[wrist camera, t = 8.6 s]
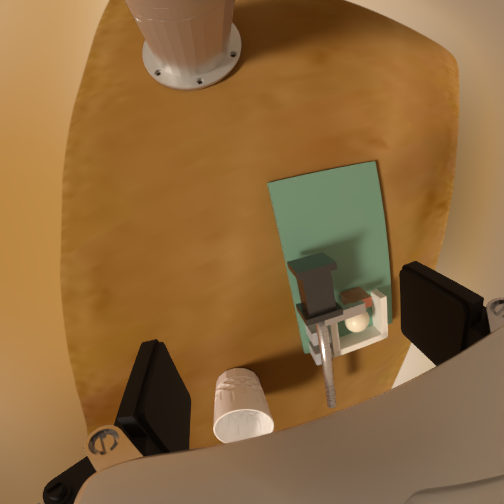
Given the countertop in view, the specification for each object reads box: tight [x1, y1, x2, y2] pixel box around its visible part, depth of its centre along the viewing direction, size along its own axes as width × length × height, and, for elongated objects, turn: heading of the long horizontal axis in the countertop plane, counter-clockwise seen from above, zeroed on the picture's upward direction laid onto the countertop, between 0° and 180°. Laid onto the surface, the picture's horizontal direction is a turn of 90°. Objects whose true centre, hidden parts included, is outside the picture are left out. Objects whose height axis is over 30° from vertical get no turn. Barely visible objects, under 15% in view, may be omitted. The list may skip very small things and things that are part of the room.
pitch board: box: [267, 161, 392, 366], centre depth 38 cm, size 25×15×4 cm, turn 14°
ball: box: [345, 311, 369, 332], centre depth 39 cm, size 4×4×4 cm
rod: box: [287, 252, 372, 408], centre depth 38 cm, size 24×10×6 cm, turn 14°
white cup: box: [213, 368, 274, 443], centre depth 38 cm, size 8×8×10 cm
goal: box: [327, 289, 388, 357], centre depth 40 cm, size 7×9×3 cm
